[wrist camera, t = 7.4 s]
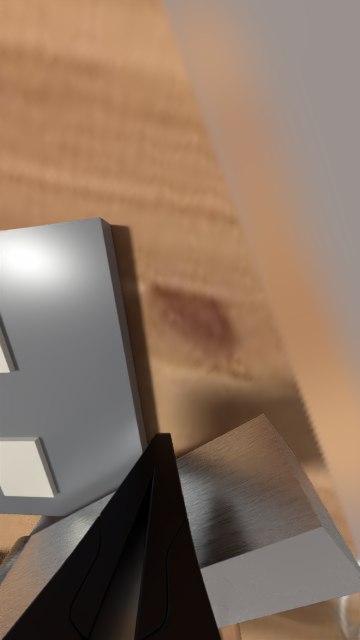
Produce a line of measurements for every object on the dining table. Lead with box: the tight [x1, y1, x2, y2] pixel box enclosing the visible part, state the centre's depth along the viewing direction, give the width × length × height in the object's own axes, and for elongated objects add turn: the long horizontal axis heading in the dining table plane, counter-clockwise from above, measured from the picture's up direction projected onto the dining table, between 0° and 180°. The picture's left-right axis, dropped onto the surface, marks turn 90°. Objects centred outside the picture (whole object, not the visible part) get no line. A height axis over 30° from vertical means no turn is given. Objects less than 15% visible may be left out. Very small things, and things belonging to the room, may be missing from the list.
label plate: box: [0, 217, 148, 536], centre depth 12 cm, size 23×18×2 cm
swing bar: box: [0, 414, 360, 640], centre depth 9 cm, size 22×4×4 cm, turn 128°
